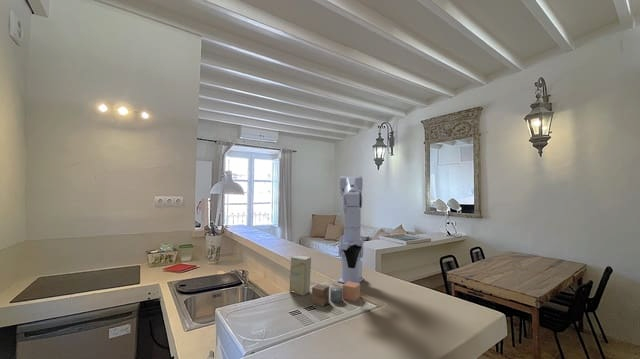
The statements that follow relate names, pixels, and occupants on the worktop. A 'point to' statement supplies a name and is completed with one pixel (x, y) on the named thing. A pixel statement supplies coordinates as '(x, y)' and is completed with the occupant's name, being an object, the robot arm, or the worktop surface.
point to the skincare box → (300, 274)
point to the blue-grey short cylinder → (336, 294)
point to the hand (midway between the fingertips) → (351, 267)
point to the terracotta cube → (351, 291)
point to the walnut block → (320, 294)
